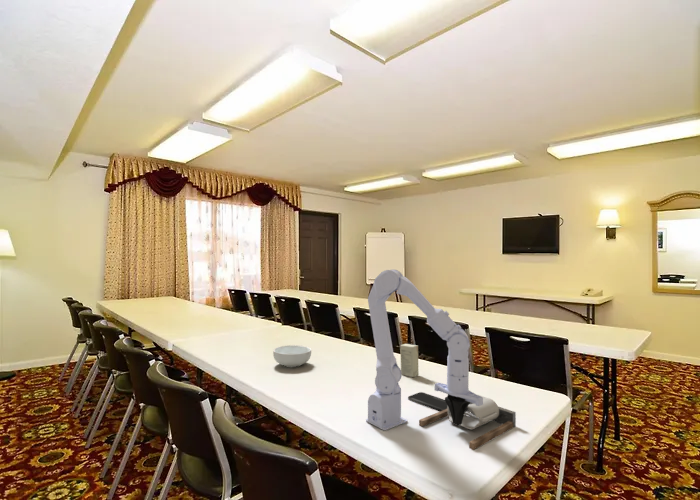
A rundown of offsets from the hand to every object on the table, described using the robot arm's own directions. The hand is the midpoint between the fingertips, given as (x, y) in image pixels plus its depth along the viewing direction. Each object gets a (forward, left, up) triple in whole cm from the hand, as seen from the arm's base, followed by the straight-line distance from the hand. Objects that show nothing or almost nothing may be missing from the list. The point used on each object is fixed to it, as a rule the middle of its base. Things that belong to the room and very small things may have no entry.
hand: (457, 423), depth 100 cm
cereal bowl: (-4, +84, -2) cm, 84 cm away
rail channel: (+5, 0, -2) cm, 5 cm away
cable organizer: (+8, 0, -2) cm, 8 cm away
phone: (+11, +17, -2) cm, 20 cm away
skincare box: (+27, +42, -2) cm, 50 cm away
